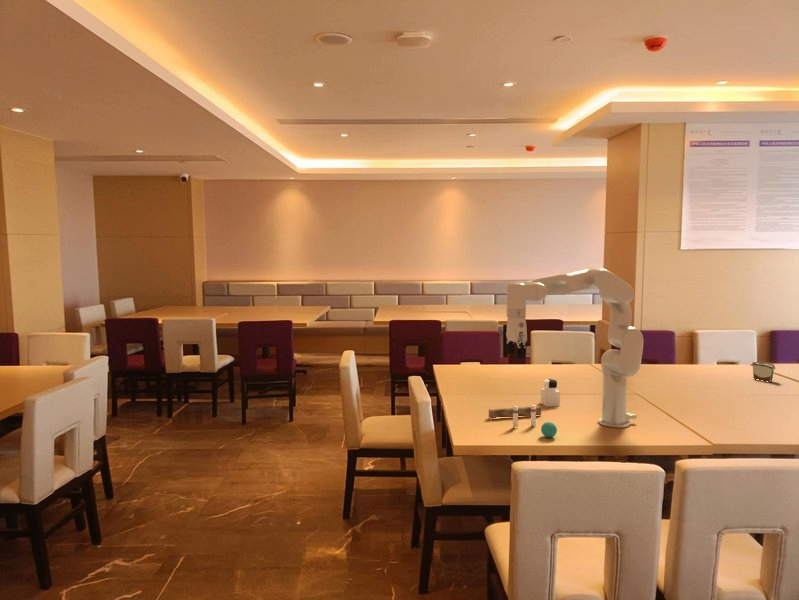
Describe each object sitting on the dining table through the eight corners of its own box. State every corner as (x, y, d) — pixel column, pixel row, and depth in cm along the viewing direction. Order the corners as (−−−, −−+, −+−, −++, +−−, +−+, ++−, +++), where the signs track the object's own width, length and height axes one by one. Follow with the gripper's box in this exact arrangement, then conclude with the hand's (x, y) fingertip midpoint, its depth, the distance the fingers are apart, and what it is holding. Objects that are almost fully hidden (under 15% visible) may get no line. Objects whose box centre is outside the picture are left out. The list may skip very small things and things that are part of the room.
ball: (552, 434, 218) (552, 419, 218) (559, 439, 212) (559, 424, 212) (538, 435, 217) (538, 420, 217) (545, 440, 211) (545, 425, 211)
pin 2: (534, 425, 230) (534, 404, 229) (536, 427, 228) (536, 405, 227) (529, 425, 229) (530, 404, 228) (531, 427, 227) (532, 406, 226)
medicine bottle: (555, 402, 266) (555, 378, 265) (559, 406, 259) (560, 381, 258) (540, 402, 266) (540, 378, 265) (545, 406, 259) (545, 381, 258)
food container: (780, 382, 304) (780, 365, 303) (772, 383, 301) (773, 365, 300) (758, 378, 315) (759, 361, 314) (751, 379, 313) (751, 361, 312)
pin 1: (516, 426, 228) (516, 405, 227) (518, 428, 226) (518, 407, 225) (511, 427, 228) (512, 406, 227) (514, 428, 226) (514, 407, 225)
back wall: (539, 414, 245) (539, 406, 245) (541, 416, 243) (541, 407, 243) (488, 418, 240) (488, 409, 240) (490, 419, 238) (490, 410, 238)
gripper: (534, 315, 211) (533, 359, 212) (515, 311, 228) (515, 351, 229) (516, 316, 209) (515, 360, 211) (499, 311, 226) (498, 352, 228)
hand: (515, 355), depth 220 cm, fingers open, 9 cm apart
